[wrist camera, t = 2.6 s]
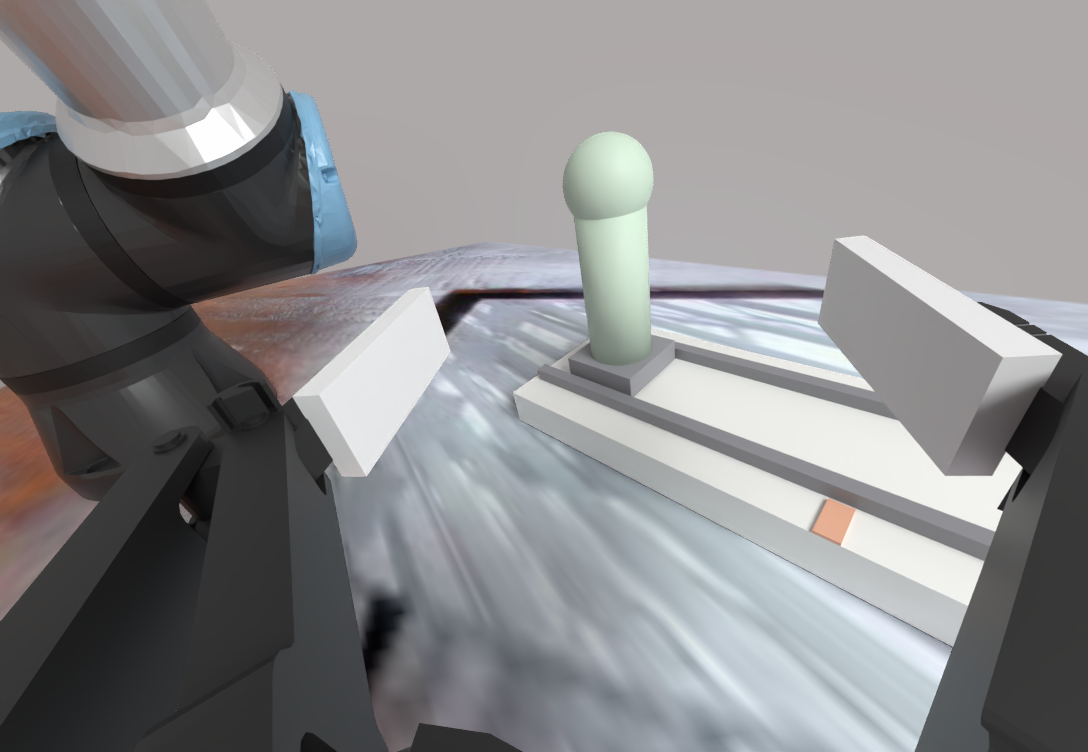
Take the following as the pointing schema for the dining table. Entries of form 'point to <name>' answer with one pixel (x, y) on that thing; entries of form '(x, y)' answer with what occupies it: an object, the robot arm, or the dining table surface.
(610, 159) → the fader knob
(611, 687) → the dining table surface
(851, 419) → the fader console
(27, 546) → the dining table surface
